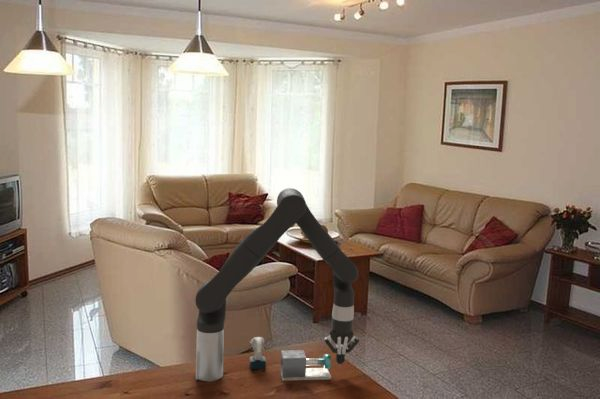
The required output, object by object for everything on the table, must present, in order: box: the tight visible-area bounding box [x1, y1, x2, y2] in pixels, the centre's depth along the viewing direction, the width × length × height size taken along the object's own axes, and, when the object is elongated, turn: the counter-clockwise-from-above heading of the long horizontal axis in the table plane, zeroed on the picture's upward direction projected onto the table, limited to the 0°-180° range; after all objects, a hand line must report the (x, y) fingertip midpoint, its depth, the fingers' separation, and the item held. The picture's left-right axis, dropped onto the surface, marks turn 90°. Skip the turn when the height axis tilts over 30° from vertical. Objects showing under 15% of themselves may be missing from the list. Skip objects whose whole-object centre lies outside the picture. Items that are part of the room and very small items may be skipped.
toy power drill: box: [249, 336, 267, 371], centre depth 199 cm, size 6×8×11 cm
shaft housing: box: [280, 349, 332, 382], centre depth 194 cm, size 17×7×8 cm, turn 98°
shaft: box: [306, 353, 332, 370], centre depth 195 cm, size 14×5×5 cm, turn 98°
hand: (340, 363), depth 196 cm, fingers closed
